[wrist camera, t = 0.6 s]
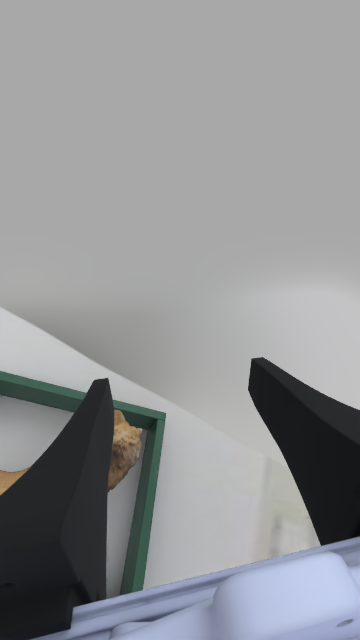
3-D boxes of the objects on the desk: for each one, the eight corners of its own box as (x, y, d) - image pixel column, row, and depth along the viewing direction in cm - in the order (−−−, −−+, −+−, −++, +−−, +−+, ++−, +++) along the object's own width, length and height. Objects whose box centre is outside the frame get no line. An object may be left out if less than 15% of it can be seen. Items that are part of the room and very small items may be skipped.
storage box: (126, 619, 20) (137, 629, 17) (-155, 597, 16) (-192, 606, 14) (156, 424, 30) (166, 412, 27) (-14, 383, 26) (-20, 365, 23)
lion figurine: (113, 429, 28) (134, 394, 21) (132, 483, 25) (161, 461, 19) (-78, 504, 20) (-136, 483, 13) (-77, 593, 17) (-147, 621, 11)
